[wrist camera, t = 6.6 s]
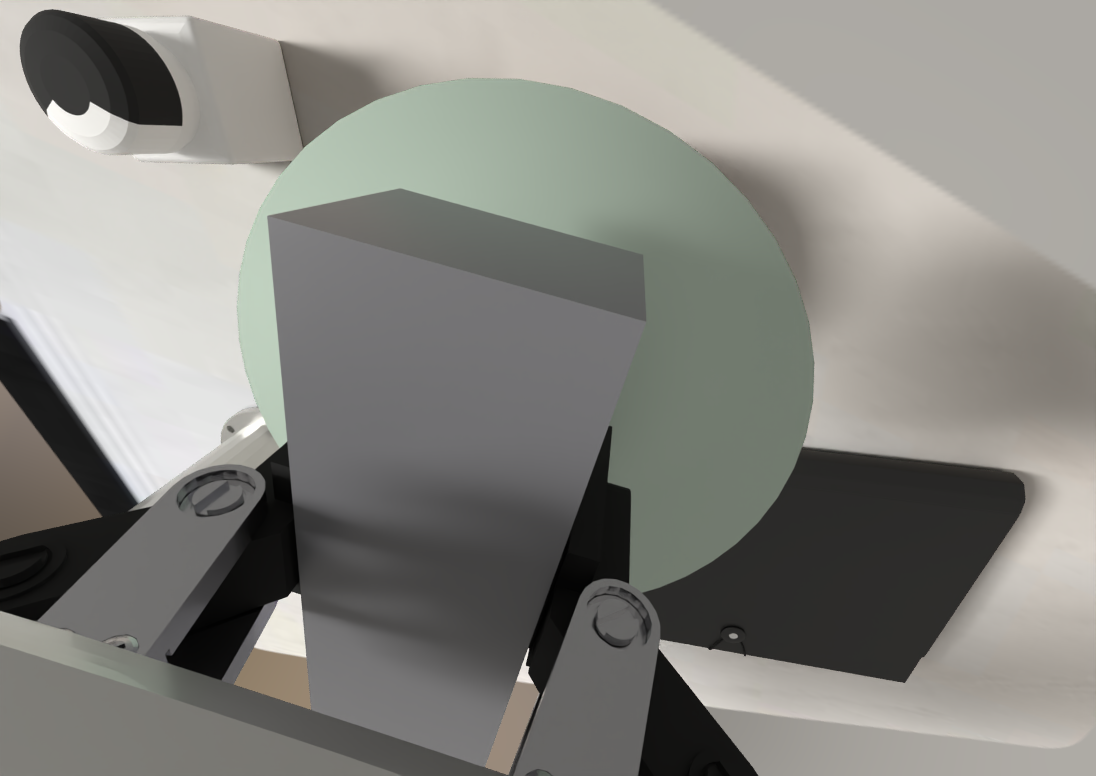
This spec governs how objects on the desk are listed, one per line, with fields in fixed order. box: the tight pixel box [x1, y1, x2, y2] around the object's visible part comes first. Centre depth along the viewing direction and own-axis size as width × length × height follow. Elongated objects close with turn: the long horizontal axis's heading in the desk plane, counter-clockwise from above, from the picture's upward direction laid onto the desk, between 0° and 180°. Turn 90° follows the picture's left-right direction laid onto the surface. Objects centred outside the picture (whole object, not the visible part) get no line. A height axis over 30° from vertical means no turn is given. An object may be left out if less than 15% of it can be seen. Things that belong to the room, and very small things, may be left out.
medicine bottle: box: [20, 9, 303, 164], centre depth 27 cm, size 7×7×12 cm
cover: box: [237, 78, 814, 767], centre depth 10 cm, size 15×15×7 cm
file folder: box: [642, 449, 1025, 683], centre depth 42 cm, size 33×4×24 cm
